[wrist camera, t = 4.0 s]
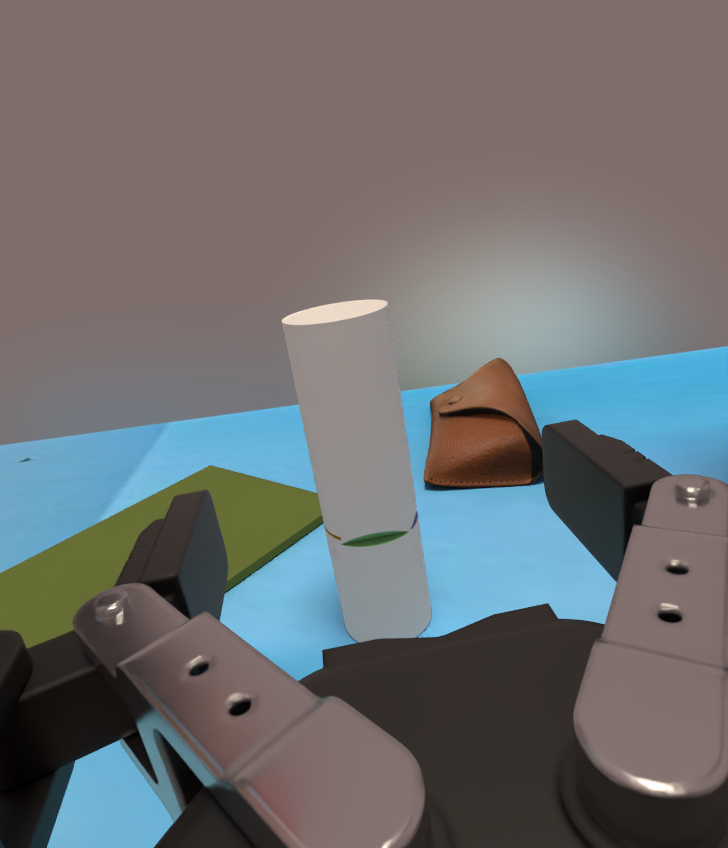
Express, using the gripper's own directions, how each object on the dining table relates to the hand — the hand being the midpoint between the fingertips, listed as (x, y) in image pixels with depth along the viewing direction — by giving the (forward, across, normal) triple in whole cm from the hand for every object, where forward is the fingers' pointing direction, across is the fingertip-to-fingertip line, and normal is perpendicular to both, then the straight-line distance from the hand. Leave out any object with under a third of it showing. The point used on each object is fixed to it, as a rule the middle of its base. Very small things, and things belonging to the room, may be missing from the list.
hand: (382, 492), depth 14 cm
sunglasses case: (+30, -10, +12) cm, 34 cm away
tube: (+11, 0, +12) cm, 17 cm away
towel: (+21, +14, +12) cm, 28 cm away
